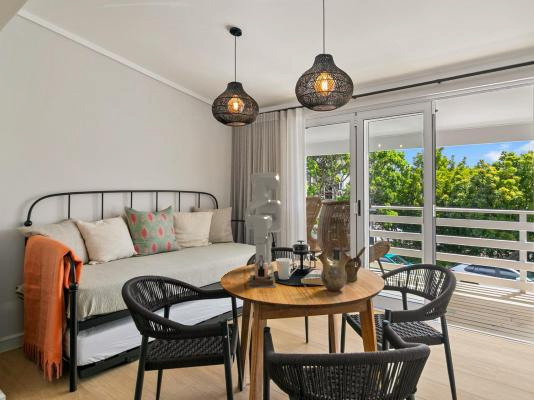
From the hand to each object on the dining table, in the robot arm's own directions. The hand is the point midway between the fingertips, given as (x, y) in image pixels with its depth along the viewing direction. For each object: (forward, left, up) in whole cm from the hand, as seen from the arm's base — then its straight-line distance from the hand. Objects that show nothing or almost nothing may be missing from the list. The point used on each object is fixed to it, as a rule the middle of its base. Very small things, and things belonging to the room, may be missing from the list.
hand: (261, 274), depth 170 cm
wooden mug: (-8, +49, -6) cm, 50 cm away
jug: (0, +1, -4) cm, 4 cm away
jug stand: (0, 0, -6) cm, 6 cm away
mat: (0, +16, -6) cm, 17 cm away
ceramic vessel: (+10, +35, -6) cm, 37 cm away
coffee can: (-25, +47, -6) cm, 54 cm away
